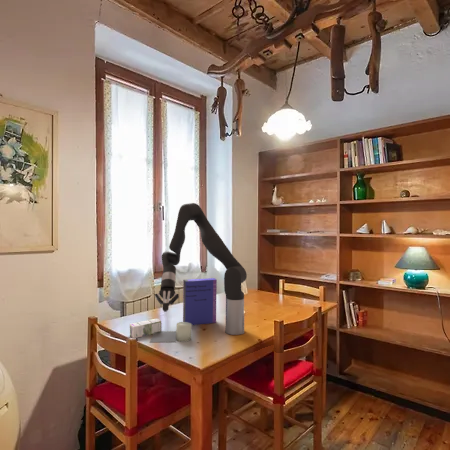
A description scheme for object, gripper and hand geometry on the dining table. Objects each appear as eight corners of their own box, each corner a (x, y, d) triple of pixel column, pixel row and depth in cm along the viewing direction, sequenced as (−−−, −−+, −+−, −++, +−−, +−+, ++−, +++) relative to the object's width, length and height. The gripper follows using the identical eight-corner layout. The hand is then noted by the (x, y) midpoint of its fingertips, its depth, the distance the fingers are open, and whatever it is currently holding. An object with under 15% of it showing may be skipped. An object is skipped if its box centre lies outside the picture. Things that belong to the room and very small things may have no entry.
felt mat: (178, 331, 172) (178, 331, 172) (176, 342, 157) (176, 342, 157) (154, 332, 171) (154, 331, 171) (149, 342, 156) (149, 342, 156)
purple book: (213, 320, 192) (213, 277, 192) (216, 322, 188) (216, 279, 187) (182, 323, 186) (183, 279, 185) (185, 326, 182) (185, 281, 181)
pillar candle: (190, 336, 165) (191, 322, 165) (190, 341, 158) (191, 326, 158) (176, 335, 165) (177, 321, 165) (175, 341, 158) (176, 326, 158)
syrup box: (156, 317, 174) (128, 323, 166) (161, 320, 169) (132, 327, 161) (157, 328, 175) (129, 335, 166) (162, 332, 170) (133, 338, 162)
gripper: (155, 278, 182) (151, 307, 170) (180, 278, 183) (178, 307, 171) (156, 286, 187) (152, 314, 175) (180, 286, 188) (178, 314, 176)
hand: (165, 310), depth 173 cm, fingers closed
